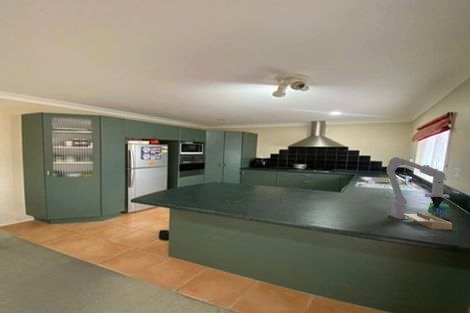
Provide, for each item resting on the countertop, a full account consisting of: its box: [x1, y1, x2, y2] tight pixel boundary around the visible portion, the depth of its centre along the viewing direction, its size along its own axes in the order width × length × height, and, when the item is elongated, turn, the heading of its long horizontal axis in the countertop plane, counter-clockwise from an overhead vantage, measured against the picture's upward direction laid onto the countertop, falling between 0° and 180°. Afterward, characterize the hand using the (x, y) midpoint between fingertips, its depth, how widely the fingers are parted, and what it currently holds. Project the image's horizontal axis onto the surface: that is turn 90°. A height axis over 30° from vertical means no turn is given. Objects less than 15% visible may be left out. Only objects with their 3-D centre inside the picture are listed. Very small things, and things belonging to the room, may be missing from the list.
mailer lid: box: [402, 211, 439, 223], centre depth 154 cm, size 16×12×3 cm
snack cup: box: [427, 201, 451, 220], centre depth 170 cm, size 16×10×10 cm
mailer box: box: [413, 215, 453, 230], centre depth 154 cm, size 16×12×4 cm
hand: (436, 207), depth 158 cm, fingers closed
